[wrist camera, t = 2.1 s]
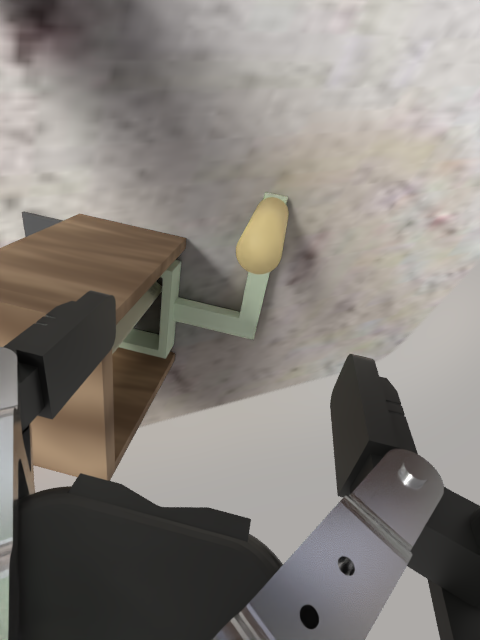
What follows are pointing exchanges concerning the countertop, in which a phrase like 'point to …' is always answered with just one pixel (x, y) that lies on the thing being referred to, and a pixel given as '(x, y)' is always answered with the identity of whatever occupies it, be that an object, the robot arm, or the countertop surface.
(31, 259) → the brown hollow box
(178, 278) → the green zigzag lever
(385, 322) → the countertop surface
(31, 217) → the pair of grey pads
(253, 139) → the countertop surface
